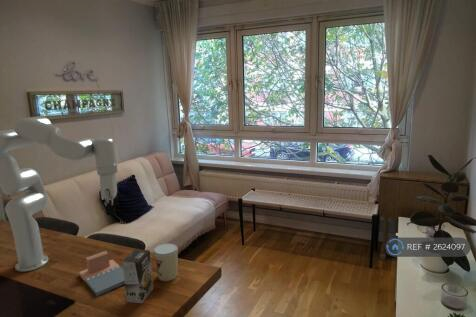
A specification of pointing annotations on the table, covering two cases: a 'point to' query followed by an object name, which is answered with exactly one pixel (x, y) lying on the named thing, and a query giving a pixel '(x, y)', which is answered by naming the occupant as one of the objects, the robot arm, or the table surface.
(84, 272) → the pink stepped block
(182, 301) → the table surface
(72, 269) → the table surface
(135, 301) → the coffee box
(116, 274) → the light blue box
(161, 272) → the coffee cup
